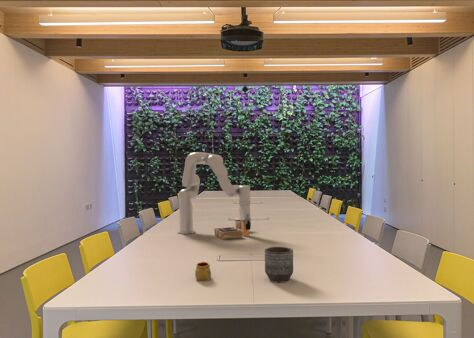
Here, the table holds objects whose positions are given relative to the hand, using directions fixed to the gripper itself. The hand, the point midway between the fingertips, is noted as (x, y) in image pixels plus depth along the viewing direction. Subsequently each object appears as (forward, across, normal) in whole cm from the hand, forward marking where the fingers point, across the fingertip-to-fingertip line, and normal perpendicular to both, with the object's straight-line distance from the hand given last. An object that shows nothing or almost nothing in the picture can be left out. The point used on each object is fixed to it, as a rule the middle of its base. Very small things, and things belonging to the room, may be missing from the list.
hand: (245, 228), depth 269 cm
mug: (+5, +82, -52) cm, 97 cm away
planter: (+6, +98, -23) cm, 101 cm away
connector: (+5, 0, 0) cm, 5 cm away
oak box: (+5, -1, -12) cm, 13 cm away
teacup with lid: (+5, -17, +5) cm, 19 cm away
